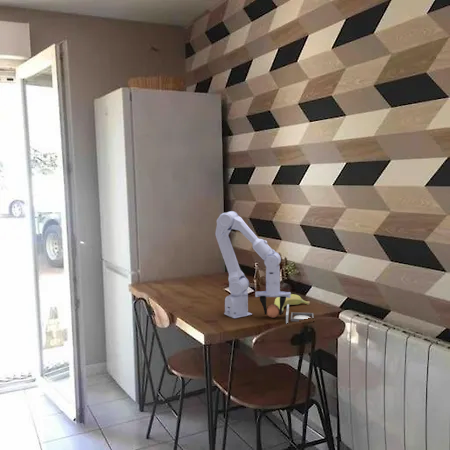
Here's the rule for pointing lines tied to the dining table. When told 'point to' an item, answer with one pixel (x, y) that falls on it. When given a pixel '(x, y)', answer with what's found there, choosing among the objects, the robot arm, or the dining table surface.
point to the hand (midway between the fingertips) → (272, 314)
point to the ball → (273, 310)
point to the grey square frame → (301, 316)
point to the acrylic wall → (287, 313)
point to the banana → (290, 301)
